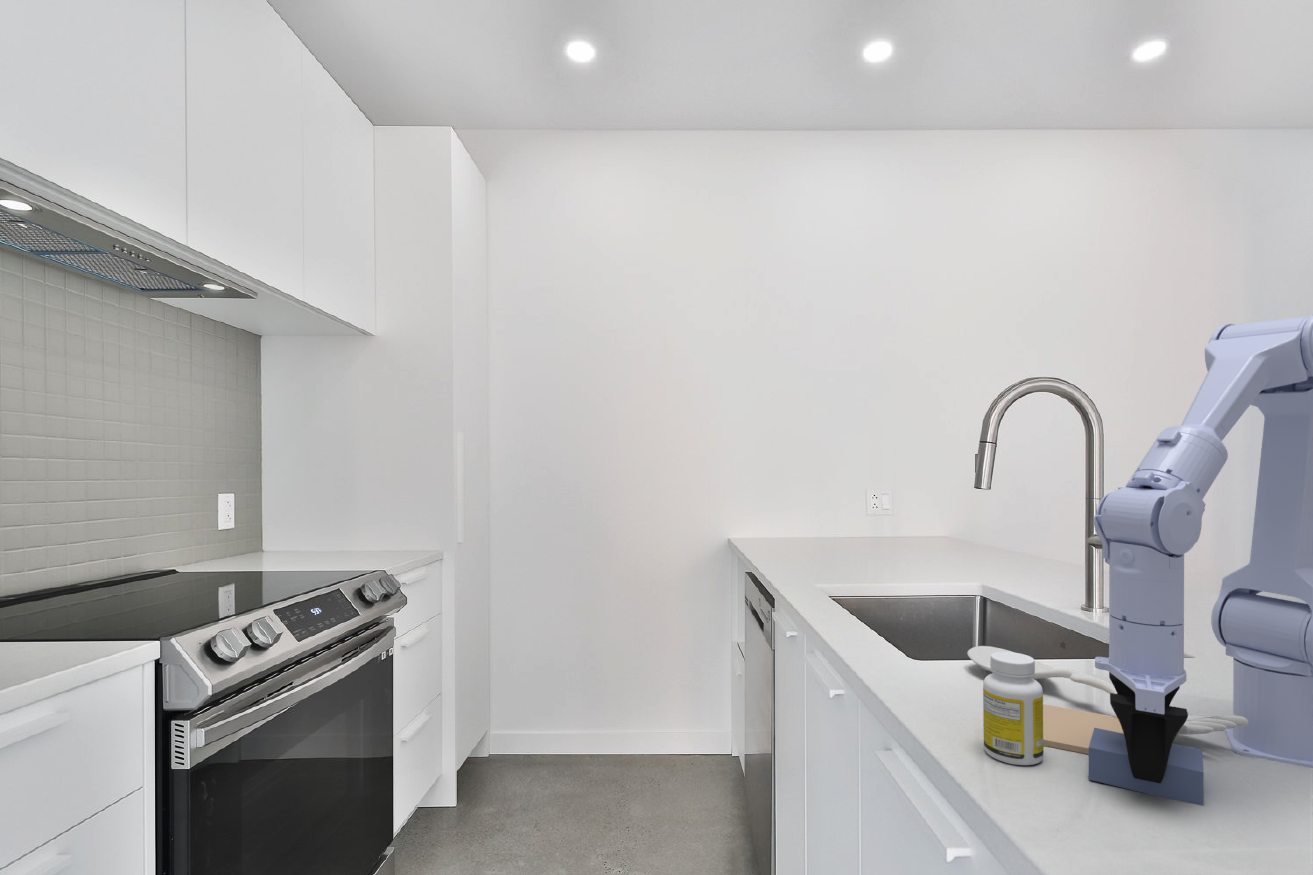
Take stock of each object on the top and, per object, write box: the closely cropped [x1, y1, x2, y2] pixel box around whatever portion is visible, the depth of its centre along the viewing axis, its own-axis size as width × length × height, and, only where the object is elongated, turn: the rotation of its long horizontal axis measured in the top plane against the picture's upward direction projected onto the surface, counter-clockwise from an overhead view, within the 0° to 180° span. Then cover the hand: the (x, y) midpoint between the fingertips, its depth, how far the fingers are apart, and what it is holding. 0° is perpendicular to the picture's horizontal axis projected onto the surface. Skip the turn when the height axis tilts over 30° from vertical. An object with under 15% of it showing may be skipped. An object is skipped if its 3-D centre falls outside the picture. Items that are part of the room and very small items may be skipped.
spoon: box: [966, 645, 1249, 736], centre depth 86 cm, size 9×32×4 cm, turn 18°
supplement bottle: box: [982, 651, 1045, 766], centre depth 73 cm, size 5×5×10 cm
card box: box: [1088, 728, 1205, 806], centre depth 67 cm, size 8×6×3 cm, turn 54°
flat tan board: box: [1043, 703, 1124, 755], centre depth 79 cm, size 14×11×1 cm
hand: (1145, 765), depth 67 cm, fingers closed on card box, 6 cm apart
